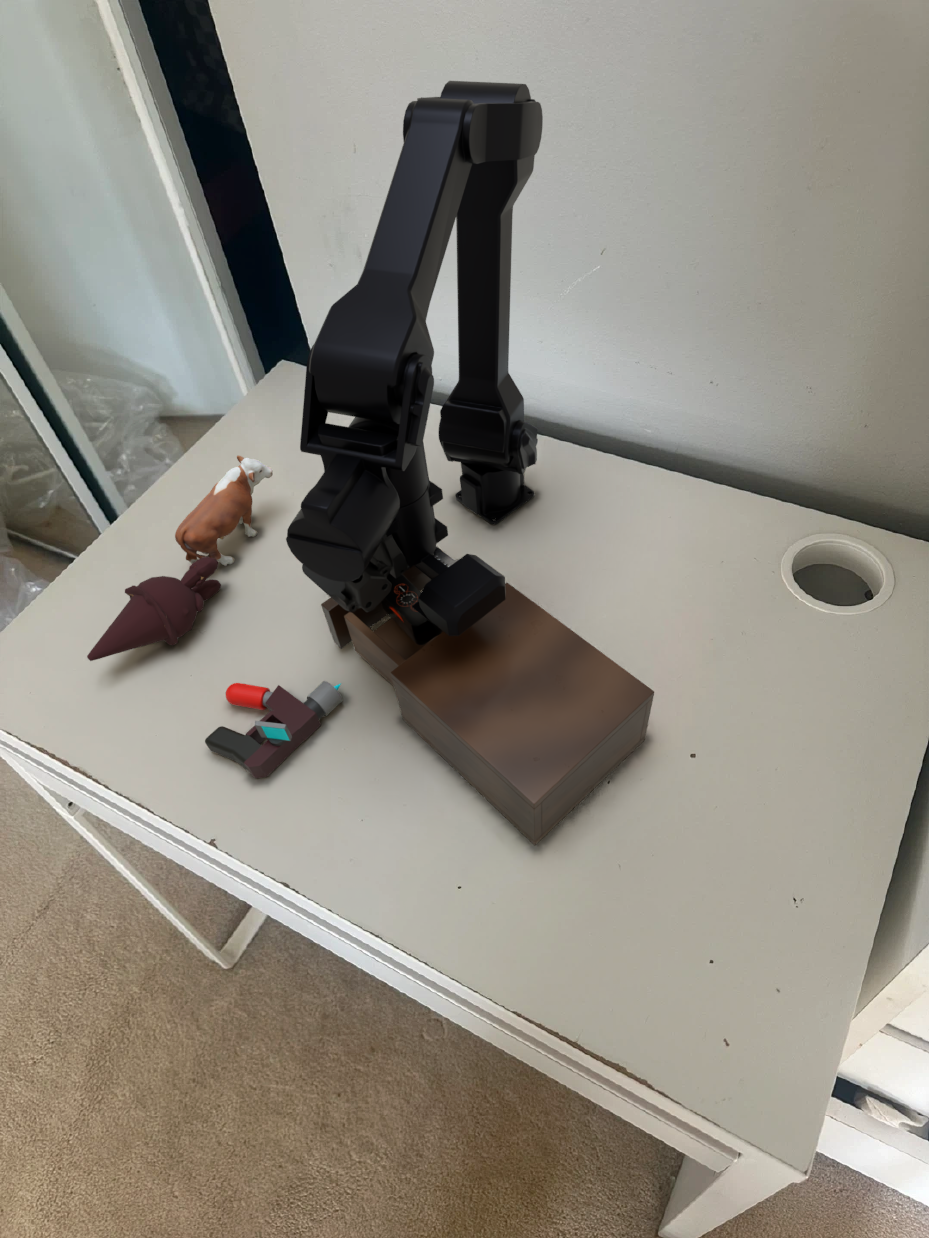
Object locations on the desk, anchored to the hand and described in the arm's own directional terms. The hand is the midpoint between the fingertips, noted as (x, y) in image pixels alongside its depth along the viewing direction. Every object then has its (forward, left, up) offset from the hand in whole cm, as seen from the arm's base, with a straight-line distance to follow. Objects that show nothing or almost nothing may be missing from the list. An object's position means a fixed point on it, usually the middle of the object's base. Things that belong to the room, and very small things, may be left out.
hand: (417, 611), depth 72 cm
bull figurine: (+5, -26, -5) cm, 27 cm away
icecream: (+17, -20, -5) cm, 27 cm away
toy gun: (+15, -4, -5) cm, 16 cm away
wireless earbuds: (0, +1, -1) cm, 1 cm away
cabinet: (0, +13, -5) cm, 14 cm away
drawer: (0, -1, -4) cm, 4 cm away
